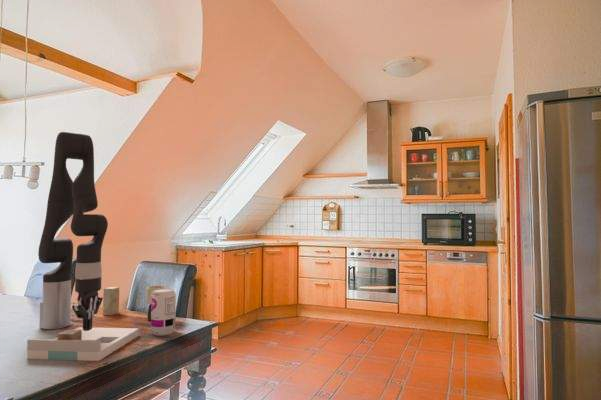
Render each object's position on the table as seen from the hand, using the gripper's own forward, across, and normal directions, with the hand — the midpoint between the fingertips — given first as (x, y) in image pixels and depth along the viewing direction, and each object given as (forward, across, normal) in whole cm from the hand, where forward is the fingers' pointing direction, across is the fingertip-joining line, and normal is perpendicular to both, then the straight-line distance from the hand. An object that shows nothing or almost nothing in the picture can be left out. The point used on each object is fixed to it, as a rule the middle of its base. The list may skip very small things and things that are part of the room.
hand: (87, 330), depth 129 cm
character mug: (+6, -34, +7) cm, 35 cm away
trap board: (+5, 0, 0) cm, 5 cm away
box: (+6, -41, -16) cm, 44 cm away
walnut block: (+2, +8, 0) cm, 9 cm away
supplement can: (+5, -16, +18) cm, 25 cm away
